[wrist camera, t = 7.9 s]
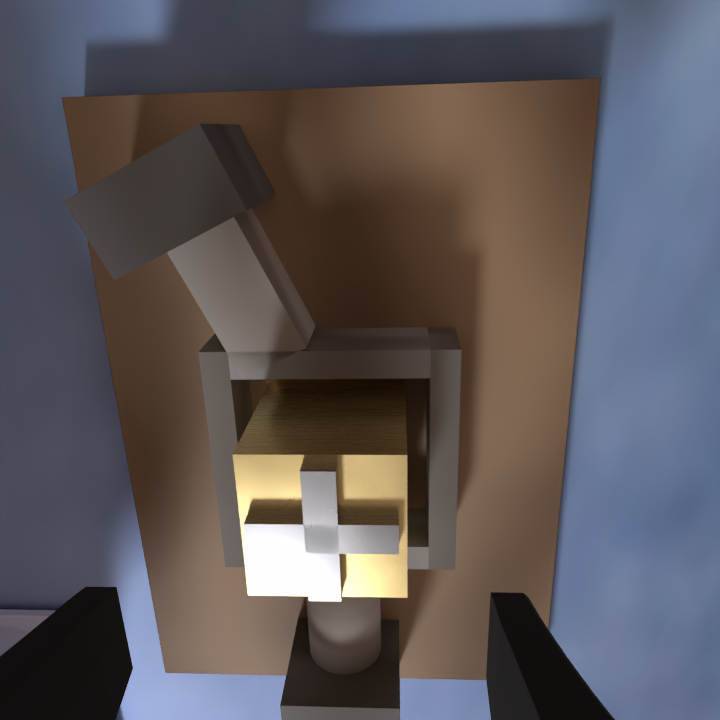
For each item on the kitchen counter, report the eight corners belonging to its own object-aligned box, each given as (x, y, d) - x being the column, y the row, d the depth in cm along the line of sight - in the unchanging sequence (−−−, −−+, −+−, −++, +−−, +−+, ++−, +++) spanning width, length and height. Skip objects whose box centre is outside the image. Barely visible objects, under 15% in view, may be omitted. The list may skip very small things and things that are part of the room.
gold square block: (282, 488, 20) (244, 606, 15) (272, 374, 19) (228, 463, 14) (404, 488, 20) (407, 609, 15) (404, 373, 19) (407, 463, 14)
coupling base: (176, 647, 25) (126, 763, 20) (83, 99, 18) (-24, 89, 13) (536, 655, 24) (569, 778, 19) (587, 81, 17) (657, 64, 12)
